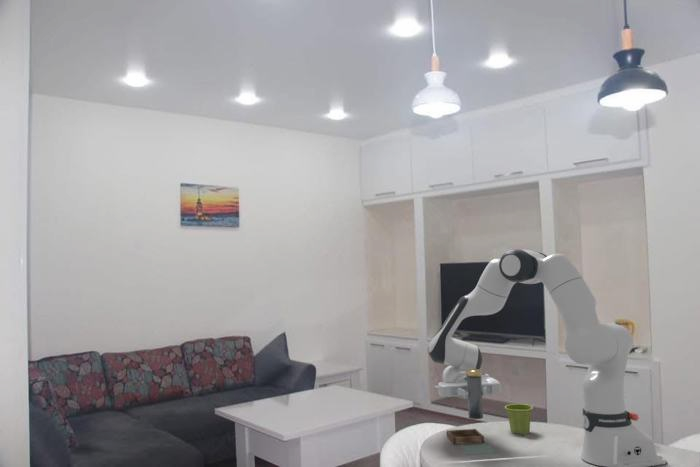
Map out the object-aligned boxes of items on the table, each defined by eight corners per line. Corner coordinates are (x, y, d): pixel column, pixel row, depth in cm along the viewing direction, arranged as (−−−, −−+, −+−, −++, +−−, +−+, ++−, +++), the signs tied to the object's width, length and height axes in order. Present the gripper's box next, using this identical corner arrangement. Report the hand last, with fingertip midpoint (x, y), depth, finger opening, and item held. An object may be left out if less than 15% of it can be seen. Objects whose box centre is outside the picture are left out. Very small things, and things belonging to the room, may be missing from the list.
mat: (487, 445, 185) (487, 444, 185) (496, 454, 176) (496, 452, 176) (460, 447, 184) (460, 445, 184) (468, 456, 175) (468, 454, 176)
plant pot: (500, 432, 200) (499, 407, 200) (517, 427, 205) (515, 402, 206) (523, 438, 192) (521, 411, 193) (539, 432, 198) (538, 406, 199)
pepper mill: (481, 414, 184) (479, 368, 185) (485, 418, 179) (483, 371, 180) (466, 415, 183) (464, 369, 184) (470, 419, 179) (468, 372, 179)
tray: (476, 436, 196) (475, 428, 196) (484, 444, 187) (483, 436, 187) (447, 438, 195) (446, 430, 195) (453, 446, 186) (453, 438, 186)
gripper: (432, 376, 194) (442, 384, 180) (492, 373, 195) (506, 381, 182) (433, 395, 193) (443, 405, 180) (493, 392, 195) (507, 401, 181)
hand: (475, 393), depth 181 cm, fingers closed on pepper mill, 4 cm apart
